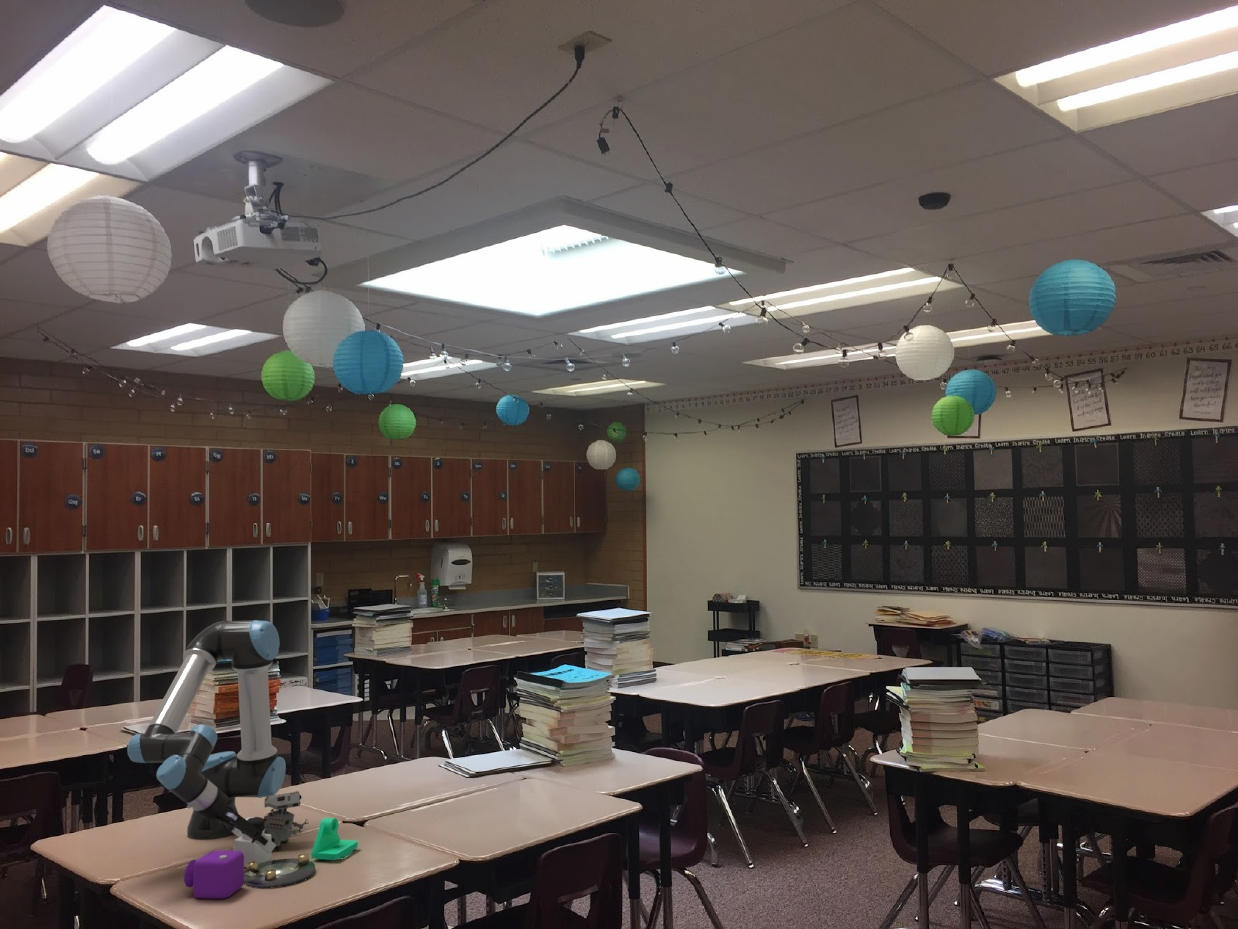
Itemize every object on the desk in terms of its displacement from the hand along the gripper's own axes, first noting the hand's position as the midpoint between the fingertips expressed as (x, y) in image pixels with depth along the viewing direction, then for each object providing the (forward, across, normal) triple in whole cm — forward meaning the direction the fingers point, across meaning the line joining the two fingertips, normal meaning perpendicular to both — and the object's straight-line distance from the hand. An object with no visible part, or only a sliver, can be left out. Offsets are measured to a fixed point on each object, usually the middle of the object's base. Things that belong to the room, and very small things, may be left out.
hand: (261, 844), depth 264 cm
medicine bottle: (+1, 0, -5) cm, 5 cm away
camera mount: (+15, +12, +8) cm, 20 cm away
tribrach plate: (+1, +15, -5) cm, 16 cm away
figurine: (+11, -7, +4) cm, 13 cm away
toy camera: (-11, +14, -17) cm, 25 cm away
